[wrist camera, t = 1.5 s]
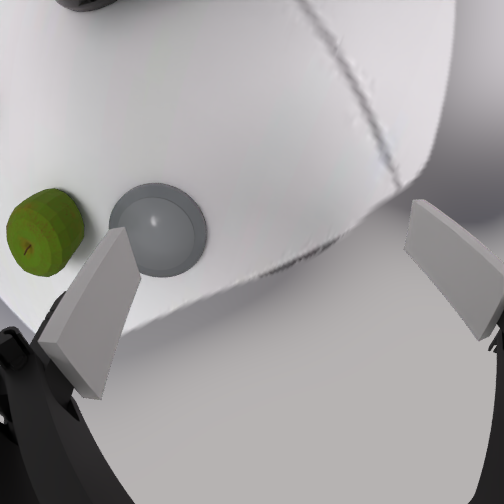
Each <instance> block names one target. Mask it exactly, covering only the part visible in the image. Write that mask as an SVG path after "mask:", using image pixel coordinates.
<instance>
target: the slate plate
mask: <svg viewBox="0 0 504 504" xmlns="http://www.w3.org/2000/svg"><path fill="white" fill-rule="evenodd" d="M120 227H125V229H126V232H127V236H128V239H129V242H130V246H131V249H132V252H133V255H134V258H135V261H136V264H137V267H138V270H139V272H140V273H142V274H145V275H148V276H152V277H172V276H176V275H179V274H181V273H183V272H185V271H187V270H188V269H190V268H191V267H192V266H193V265H194V264H195V263H196V262H197V261H198V260H199V258H200V256H201V255H202V253H203V250H204V247H205V242H206V224H205V219H204V217H203V214H202V212H201V210H200V208H199V207H198V205H197V204H196V203H195V202H194V201H193V199H192V198H191V197H189V196H188V195H187V194H186V193H184V192H183V191H181V190H179V189H177V188H175V187H173V186H170V185H166V184H161V183H149V184H144V185H140V186H137V187H135V188H133V189H131V190H130V191H128V192H127V193H126V194H125V195H124V196H123V197H122V198H121V199H120V200H119V201H118V202H117V204H116V205H115V207H114V208H113V210H112V213H111V216H110V221H109V230H110V229H113V228H120Z"/></svg>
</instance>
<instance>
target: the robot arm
mask: <svg viewBox="0 0 504 504" xmlns="http://www.w3.org/2000/svg"><path fill="white" fill-rule="evenodd" d="M56 1H57V2H58V3H59V4H60V5H62V6H64V7H66V8H68V9H71V10H74V11H90V10H95V9H98V8H101V7H104V6H107V5H109V4H111V3H113V2H115V1H117V0H56ZM404 250H405V252H406V253H407V254H408V255H409V256H410V257H411V258H412V259H413V260H414V262H415V263H416V264H417V265H418V266H419V267H420V268H421V269H422V271H423V272H424V273H425V274H426V275H427V276H428V278H429V279H430V280H431V281H432V282H433V283H434V285H435V286H436V287H437V288H438V289H439V290H440V292H441V293H442V294H443V295H444V297H445V298H446V299H447V300H448V302H449V303H450V304H451V305H452V307H453V308H454V309H455V311H456V312H457V313H458V314H459V316H460V317H461V318H462V320H463V321H464V322H465V324H466V325H467V326H468V328H469V329H470V330H471V332H472V333H473V335H474V336H475V338H476V339H477V340H478V341H480V340H482V339H484V338H486V337H489V336H490V335H491V333H492V331H493V329H494V328H495V326H496V324H497V325H498V326H499V327H500V330H499V331H498V333H497V335H496V336H495V338H494V340H493V341H492V343H491V344H490V346H489V349H488V351H491V349H492V348H493V346H494V345H497V346H496V348H495V349H494V351H493V352H495V353H497V375H496V392H495V402H494V412H493V419H492V426H491V432H490V438H489V443H488V448H487V452H486V457H485V461H484V465H483V469H482V473H481V476H480V480H479V483H478V486H477V489H476V492H475V495H474V497H473V498H472V500H471V501H470V502H469V503H468V504H504V262H503V261H501V260H500V259H499V258H498V257H497V256H496V255H495V254H494V253H493V252H491V251H490V250H489V249H488V248H487V247H486V246H484V245H483V244H482V243H481V242H480V241H479V240H477V239H476V238H475V237H474V236H472V235H471V234H470V233H469V232H468V231H466V230H465V229H464V228H463V227H461V226H460V225H459V224H457V223H456V222H455V221H454V220H452V219H451V218H449V217H448V216H447V215H446V214H444V213H443V212H441V211H440V210H439V209H437V208H436V207H434V206H433V205H431V204H430V203H429V202H427V201H426V200H413V202H412V208H411V214H410V220H409V226H408V231H407V236H406V241H405V246H404ZM140 281H141V276H140V273H139V270H138V267H137V264H136V261H135V258H134V255H133V252H132V249H131V246H130V242H129V239H128V236H127V232H126V229H125V227H120V228H113V229H110V230H109V231H108V232H107V234H106V235H105V236H104V238H103V239H102V240H101V242H100V243H99V244H98V246H97V247H96V248H95V250H94V251H93V253H92V254H91V255H90V257H89V258H88V260H87V261H86V263H85V264H84V265H83V267H82V268H81V270H80V271H79V273H78V274H77V276H76V277H75V279H74V280H73V282H72V284H71V285H70V287H69V288H68V290H67V291H65V292H64V293H63V294H62V295H60V296H59V297H58V298H57V299H56V300H55V302H54V304H53V305H52V307H51V309H50V312H48V314H47V315H46V317H45V320H43V322H42V324H41V326H40V327H39V329H38V331H37V333H36V334H35V336H34V338H33V340H32V342H31V344H30V345H29V344H28V342H27V341H26V340H25V338H24V337H23V335H22V334H21V332H20V331H19V329H18V328H16V327H7V328H5V329H3V330H2V331H1V332H0V414H1V415H2V416H3V417H4V424H3V423H1V422H0V504H135V503H134V502H133V500H132V499H131V498H130V496H129V495H128V494H127V492H126V491H125V489H124V488H123V486H122V485H121V483H120V482H119V481H118V479H117V478H116V476H115V474H114V473H113V471H112V470H111V468H110V466H109V465H108V463H107V461H106V460H105V458H104V456H103V455H102V453H101V452H100V449H99V447H98V446H97V444H96V442H95V440H94V438H93V436H92V434H91V433H90V430H89V428H88V426H87V424H86V422H85V420H84V418H83V416H82V414H81V412H80V410H79V407H78V405H77V403H76V401H75V400H74V398H73V397H72V396H71V395H72V392H73V389H74V388H75V389H76V391H77V392H78V393H79V394H80V395H81V396H82V397H83V398H89V399H97V400H101V399H102V395H103V391H104V388H105V384H106V381H107V377H108V374H109V370H110V367H111V364H112V361H113V357H114V354H115V351H116V348H117V345H118V341H119V339H120V336H121V333H122V330H123V327H124V324H125V321H126V318H127V315H128V313H129V310H130V307H131V304H132V302H133V299H134V296H135V294H136V291H137V289H138V286H139V283H140Z"/></svg>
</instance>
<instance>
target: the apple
mask: <svg viewBox="0 0 504 504" xmlns="http://www.w3.org/2000/svg"><path fill="white" fill-rule="evenodd" d="M6 230H7V242H8V245H9V248H10V250H11V253H12V255H13V257H14V258H15V260H16V262H17V263H18V264H19V266H20V267H21V268H22V269H23V270H24V271H26V272H28V273H31V274H33V275H37V276H43V277H50V276H52V275H54V274H57V273H58V272H59V271H61V270H62V269H63V268H64V267H65V265H66V264H67V262H68V261H69V259H70V258H71V256H72V255H73V253H74V252H75V251H76V249H77V248H78V246H79V245H80V243H81V241H82V240H83V238H84V223H83V220H82V217H81V214H80V212H79V210H78V208H77V206H76V204H75V203H74V201H73V200H72V199H71V198H70V197H69V196H68V195H67V194H66V193H64V192H62V191H60V190H58V189H55V188H53V189H46V190H43V191H41V192H38V193H36V194H34V195H32V196H31V197H29V198H27V199H26V200H24V201H23V202H22V203H20V204H19V205H18V206H17V207H16V208H15V209H14V210H13V212H12V214H11V215H10V218H9V220H8V223H7V226H6Z"/></svg>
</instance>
